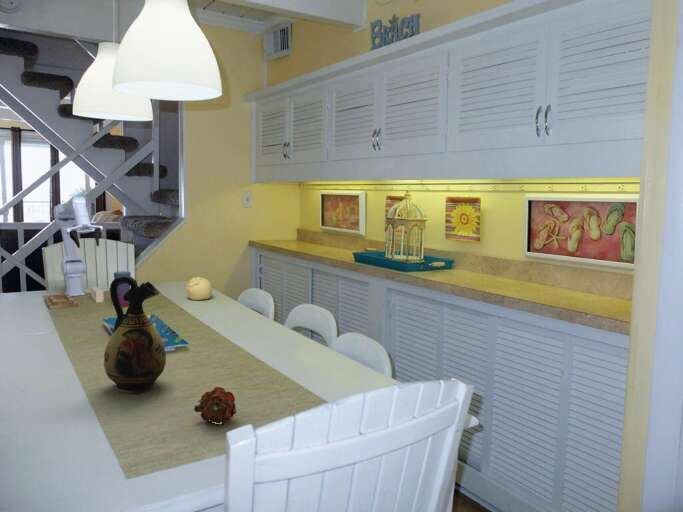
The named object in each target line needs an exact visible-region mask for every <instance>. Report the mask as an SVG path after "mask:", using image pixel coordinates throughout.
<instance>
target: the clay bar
mask: <svg viewBox="0 0 683 512" xmlns="http://www.w3.org/2000/svg"><path fill="white" fill-rule="evenodd" d="M90 291H91V292H90V293H91V295H90V296H91V299H92V300H93V301H94V303H96V304H97V303H104V299H105V298H104V290H102V289H101V288H100V287H99V286H96V287H95V286H94V287H92V286H91V288H90Z"/></svg>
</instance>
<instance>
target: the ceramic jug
mask: <svg viewBox="0 0 683 512" xmlns="http://www.w3.org/2000/svg"><path fill="white" fill-rule="evenodd" d="M125 283H127V284H129V285H130V290H129V291H127V292H126V294H125V295H124V297H123V298H124V300H125V301H129V306H128V307H127V309H126V310H125V313H124V311H123V307H121V304H120V300H119V297H118V293H117V287H118V286H119V285H120V284H125ZM109 293H110V294H109V295H110V299H111V301H112V304H113V307H114V310H115V312H116V313H115V314H116V320H115V323H114V327H113V331H112V334H111V335H110V337H109V339H108V341H107V344H106V347H105V351H104V356H103V368H104V371H105V374H106V375H107V378H109V379H110V381H112V382H113V383H114V384H115V390H116V391H118V392H121V393H123V394H132V395H135V394H134V393H141V394H143V393H146V392H149V391H148V390H150V391H152V390H153V389H152V388H154V389H155V383H156V381H157V380H158V379H159V377H160V376H161V375H162V374H163V372H164V370H165V367H166V364H167V363H166V362H167V353H166V349H165V345H164V341H163V339H162V336H161V334H160V332H159V331H158V329H157V327H155V324H154V323H153V322H152V320H151V319H150V318H149V316H148V315H147V314H146V312H145V311H144V307H143V303H144V302H145V301H146V300H148V299H150V298H153V297H155V296H158V295H159V294H160V292H159V290H158V289H157V288H156V287H155V285H153V283H151V282H150V281H146V282H142V283H141V284H140V285H138V283H137V280H136V279H135V278H133V277H132V276H131V275H130V276H126V275H122V276H119V277H117V278H115V279H114V278H113V280H112V282H111V283H110V287H109ZM151 389H152V390H151ZM145 391H146V392H145ZM142 392H143V393H142Z"/></svg>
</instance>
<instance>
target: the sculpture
mask: <svg viewBox="0 0 683 512" xmlns="http://www.w3.org/2000/svg"><path fill="white" fill-rule="evenodd" d="M185 291H186V292H185V293H186V294H187V297H188V298H189V299H191V301H201V300H209V299H210V298H211V297H212V293H213V285H212V283H211V281H210V280H209V279H207V278H205V277H202V276H196V277H192V278H191V279H189V280H188V283H186V286H185Z"/></svg>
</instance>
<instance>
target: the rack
mask: <svg viewBox="0 0 683 512" xmlns="http://www.w3.org/2000/svg"><path fill="white" fill-rule="evenodd" d="M44 302H45V303H46V304H47V307H48V309H49V310H52V309H63V308H73V307H74V308H75V307H79V303H78V301H76V299H75V298H74V296H70V295H69V294H64V293H62V294H53V295H52V294H51V295H48V298H44Z"/></svg>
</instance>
